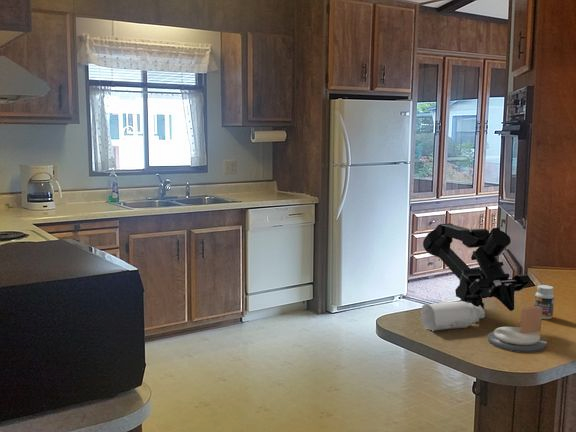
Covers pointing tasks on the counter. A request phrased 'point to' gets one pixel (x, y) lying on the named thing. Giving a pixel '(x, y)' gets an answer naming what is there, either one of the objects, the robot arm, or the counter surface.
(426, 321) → the white bottle
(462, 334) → the counter surface
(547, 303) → the pill bottle
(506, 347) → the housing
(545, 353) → the counter surface
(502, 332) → the dial
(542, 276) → the counter surface
